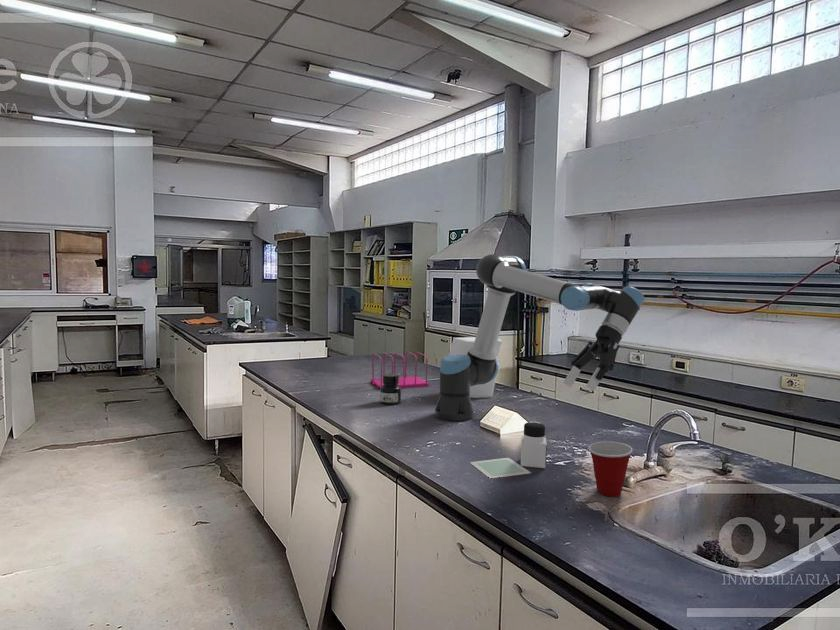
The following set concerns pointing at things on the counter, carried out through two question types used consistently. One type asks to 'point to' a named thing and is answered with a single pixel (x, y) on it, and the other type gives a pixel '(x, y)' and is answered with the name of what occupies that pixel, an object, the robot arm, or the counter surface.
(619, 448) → the plastic cup
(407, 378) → the file sorter
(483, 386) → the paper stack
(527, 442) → the medicine bottle
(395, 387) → the ink bottle
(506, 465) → the pad
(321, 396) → the counter surface
